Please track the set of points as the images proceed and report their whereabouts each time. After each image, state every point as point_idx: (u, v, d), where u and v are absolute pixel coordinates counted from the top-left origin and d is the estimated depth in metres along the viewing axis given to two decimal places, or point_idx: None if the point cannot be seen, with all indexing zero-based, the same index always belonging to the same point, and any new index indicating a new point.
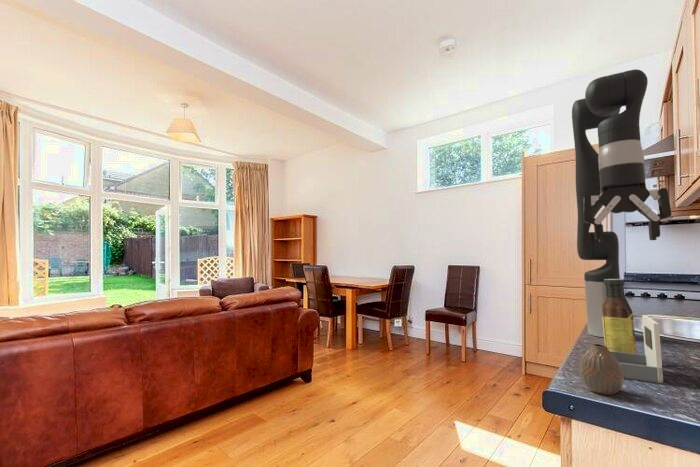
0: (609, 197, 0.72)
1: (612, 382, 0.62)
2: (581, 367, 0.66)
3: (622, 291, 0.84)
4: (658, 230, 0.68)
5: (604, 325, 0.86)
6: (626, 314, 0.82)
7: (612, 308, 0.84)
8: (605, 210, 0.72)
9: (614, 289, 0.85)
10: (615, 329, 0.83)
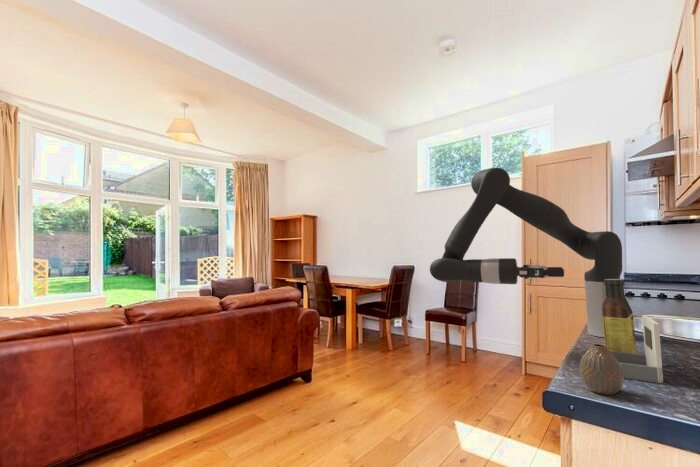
0: None
1: (612, 382, 0.62)
2: (581, 367, 0.66)
3: (622, 291, 0.84)
4: (555, 275, 0.88)
5: (604, 325, 0.86)
6: (626, 314, 0.82)
7: (612, 308, 0.84)
8: None
9: (614, 289, 0.85)
10: (615, 329, 0.83)
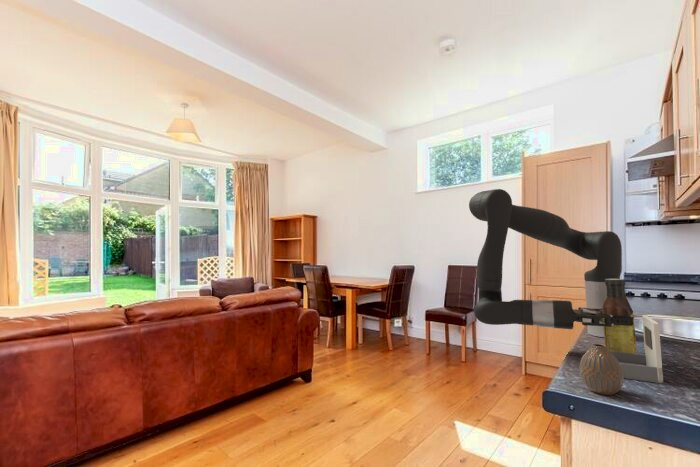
0: None
1: (612, 382, 0.62)
2: (581, 367, 0.66)
3: (623, 291, 0.84)
4: None
5: None
6: (627, 314, 0.82)
7: (613, 308, 0.83)
8: None
9: (615, 289, 0.84)
10: (615, 329, 0.83)
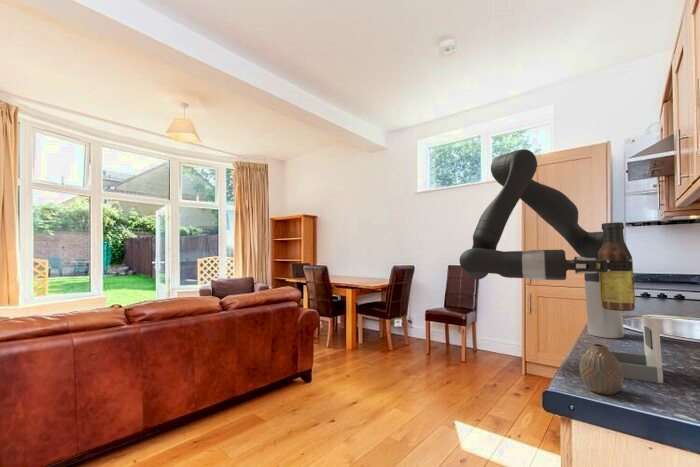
0: None
1: (612, 382, 0.62)
2: (581, 367, 0.66)
3: (621, 235, 0.76)
4: (621, 269, 0.73)
5: (600, 273, 0.77)
6: (625, 260, 0.74)
7: (610, 253, 0.75)
8: None
9: (612, 232, 0.76)
10: (612, 276, 0.75)
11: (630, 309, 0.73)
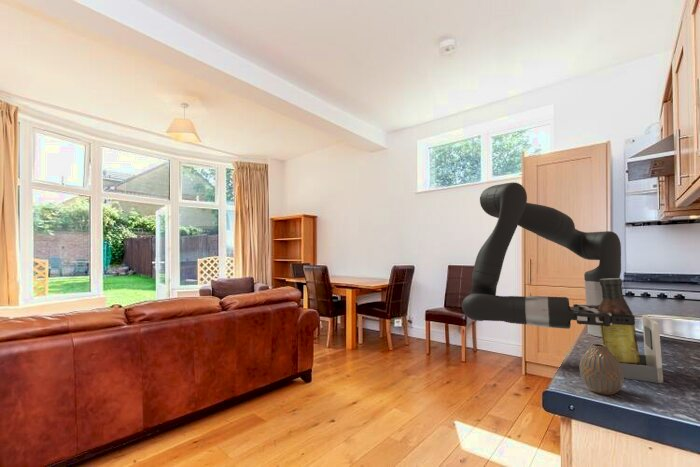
0: None
1: (612, 382, 0.62)
2: (581, 367, 0.66)
3: (620, 292, 0.76)
4: None
5: (602, 330, 0.77)
6: None
7: (610, 311, 0.75)
8: None
9: (611, 289, 0.76)
10: (614, 334, 0.74)
11: None
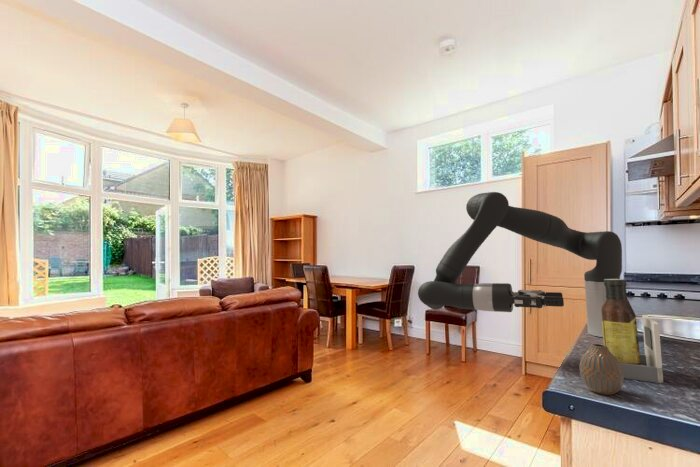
0: None
1: (612, 382, 0.62)
2: (581, 367, 0.66)
3: (624, 292, 0.75)
4: None
5: (604, 330, 0.77)
6: (629, 319, 0.73)
7: (613, 311, 0.75)
8: None
9: (615, 290, 0.76)
10: (616, 335, 0.74)
11: None
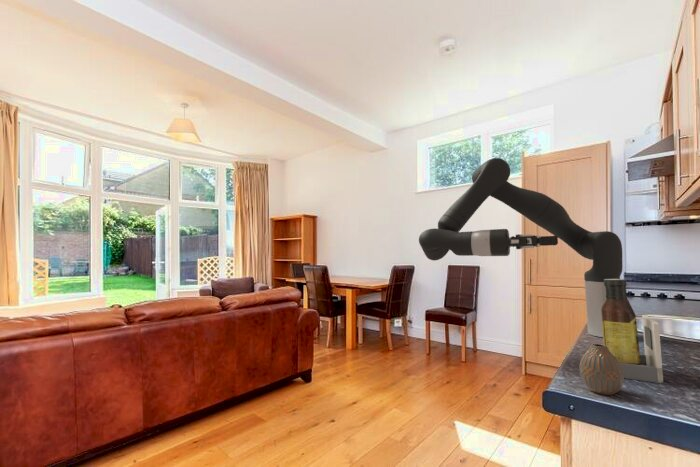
0: None
1: (612, 382, 0.62)
2: (581, 367, 0.66)
3: (624, 292, 0.75)
4: (548, 243, 0.83)
5: (604, 330, 0.77)
6: (629, 319, 0.73)
7: (613, 311, 0.75)
8: None
9: (615, 290, 0.76)
10: (616, 335, 0.74)
11: None
